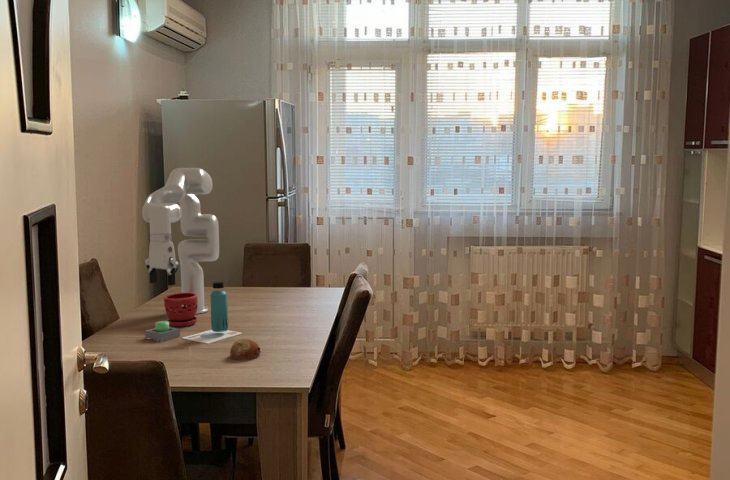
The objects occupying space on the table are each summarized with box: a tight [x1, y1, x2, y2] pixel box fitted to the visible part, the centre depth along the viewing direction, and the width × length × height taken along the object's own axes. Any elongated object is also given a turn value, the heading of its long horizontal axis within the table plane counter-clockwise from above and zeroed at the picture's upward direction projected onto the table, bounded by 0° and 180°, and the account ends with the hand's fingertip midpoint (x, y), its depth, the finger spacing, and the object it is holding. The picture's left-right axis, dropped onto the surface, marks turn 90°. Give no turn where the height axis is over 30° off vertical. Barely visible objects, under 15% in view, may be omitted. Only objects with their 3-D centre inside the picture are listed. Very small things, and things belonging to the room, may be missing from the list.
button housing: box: [144, 326, 181, 342], centre depth 281 cm, size 9×9×3 cm
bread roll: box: [229, 338, 262, 361], centre depth 255 cm, size 10×10×8 cm
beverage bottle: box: [209, 281, 229, 332], centre depth 283 cm, size 6×7×20 cm
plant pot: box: [163, 292, 198, 328], centre depth 302 cm, size 13×13×12 cm
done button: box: [154, 320, 170, 333], centre depth 281 cm, size 5×5×4 cm
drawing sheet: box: [181, 329, 244, 345], centre depth 283 cm, size 14×18×1 cm
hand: (162, 283), depth 278 cm, fingers open, 9 cm apart
